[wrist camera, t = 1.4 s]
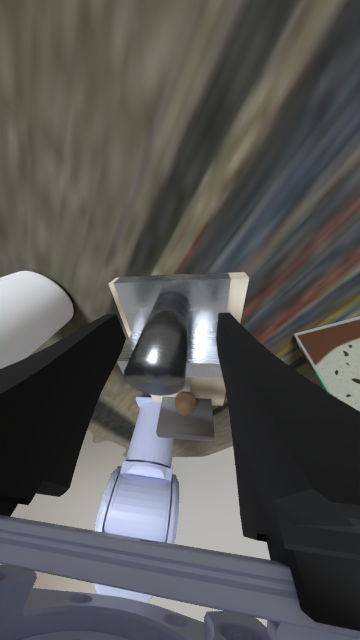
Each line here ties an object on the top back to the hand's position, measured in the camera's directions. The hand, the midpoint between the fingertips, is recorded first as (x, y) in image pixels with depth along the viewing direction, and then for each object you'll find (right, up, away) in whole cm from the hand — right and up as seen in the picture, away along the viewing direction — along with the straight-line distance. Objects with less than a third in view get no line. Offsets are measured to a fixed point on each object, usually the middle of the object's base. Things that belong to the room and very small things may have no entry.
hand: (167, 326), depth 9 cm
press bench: (+1, -4, +11) cm, 12 cm away
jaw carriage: (0, +1, +4) cm, 4 cm away
